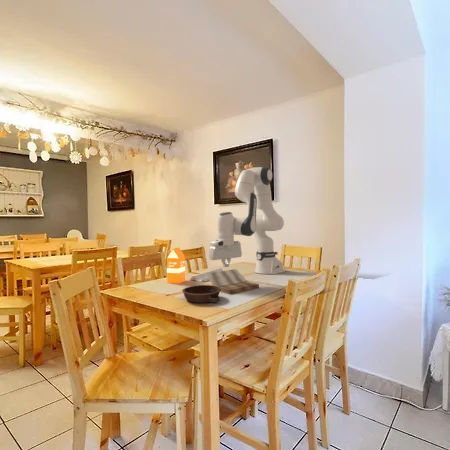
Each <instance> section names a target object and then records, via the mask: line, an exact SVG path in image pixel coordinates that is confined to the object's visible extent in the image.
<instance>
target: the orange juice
mask: <svg viewBox="0 0 450 450" xmlns="http://www.w3.org/2000/svg"><path fill="white" fill-rule="evenodd" d="M166 257H167V258H166V280H167V284H181V283H184V282H185V281H186V256H185V254H184V253H183V251H182V250H181V248H180V247H175V248H172V249H171V251H170V253H169V254H168V256H166Z"/></svg>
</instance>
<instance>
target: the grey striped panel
mask: <svg viewBox="0 0 450 450" xmlns="http://www.w3.org/2000/svg"><path fill="white" fill-rule="evenodd" d="M207 277H208V279H209V282H211V285H212V286H217V287H220V286H225V285H230V284H236V283H241V282H246V281H248V280H247V279H246V277H244V276H243V275H242V273H241V272H239V270H238V269H237V268H233V269H227V270H223V271H220V272H213V273H208V274H207Z"/></svg>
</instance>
